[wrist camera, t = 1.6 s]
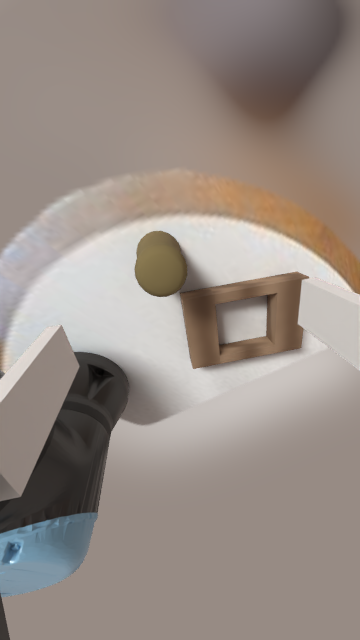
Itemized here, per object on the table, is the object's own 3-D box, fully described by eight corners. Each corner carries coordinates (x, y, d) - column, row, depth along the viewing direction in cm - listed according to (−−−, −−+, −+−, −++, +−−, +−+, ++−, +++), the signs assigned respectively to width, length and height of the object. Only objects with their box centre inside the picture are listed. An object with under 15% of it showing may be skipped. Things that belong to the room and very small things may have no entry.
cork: (184, 271, 32) (198, 298, 22) (142, 280, 32) (138, 311, 22) (176, 226, 29) (188, 234, 20) (131, 236, 29) (120, 249, 19)
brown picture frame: (190, 358, 39) (193, 369, 36) (179, 293, 33) (182, 300, 31) (291, 338, 39) (301, 348, 37) (296, 271, 34) (309, 277, 31)
